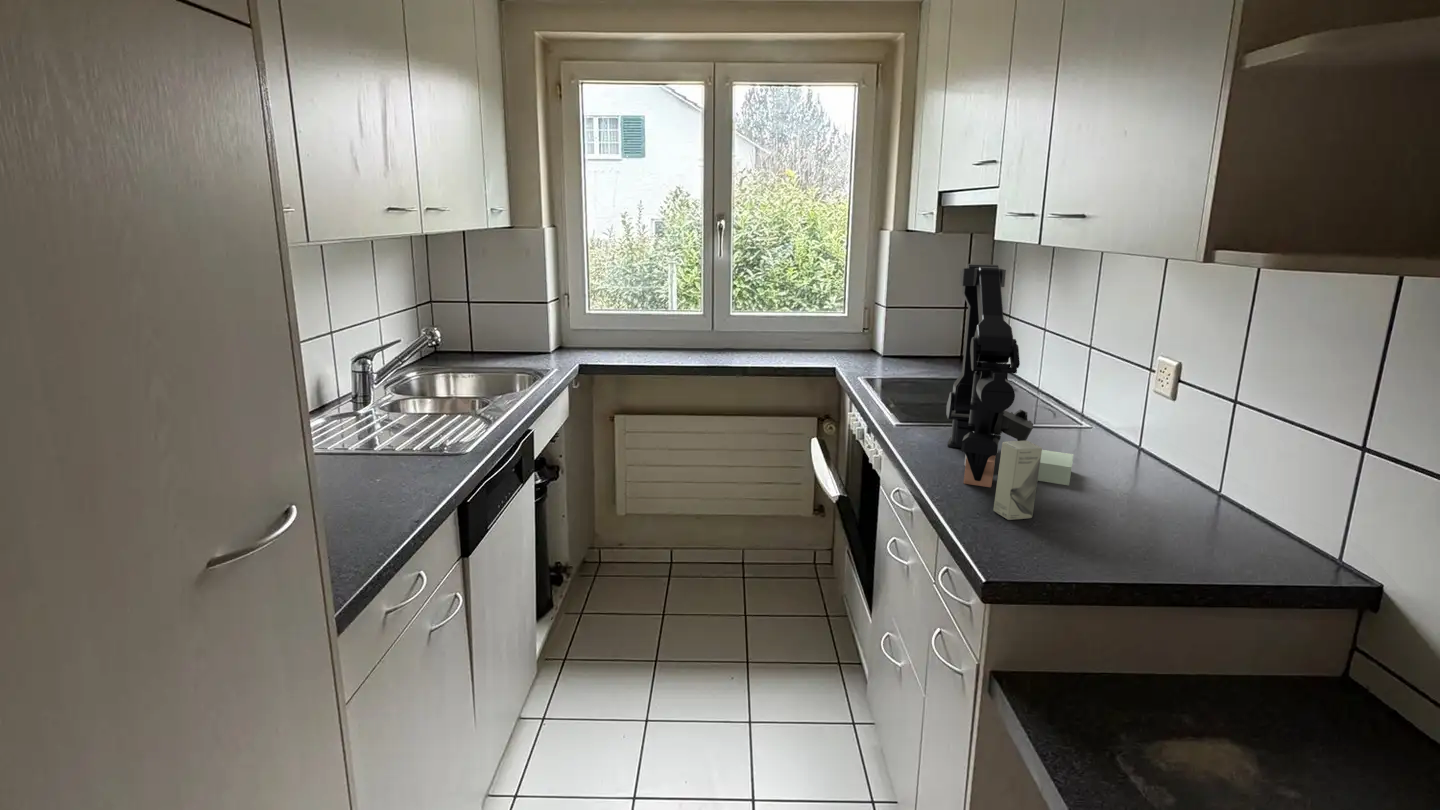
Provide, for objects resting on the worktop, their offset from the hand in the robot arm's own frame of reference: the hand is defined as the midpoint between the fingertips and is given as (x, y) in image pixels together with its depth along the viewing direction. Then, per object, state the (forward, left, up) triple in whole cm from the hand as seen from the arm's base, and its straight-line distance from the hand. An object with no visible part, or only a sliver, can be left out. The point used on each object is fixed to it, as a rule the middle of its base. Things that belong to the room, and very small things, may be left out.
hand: (978, 476), depth 150 cm
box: (+15, +7, -1) cm, 17 cm away
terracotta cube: (0, 0, -1) cm, 1 cm away
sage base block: (-10, +12, -1) cm, 16 cm away
